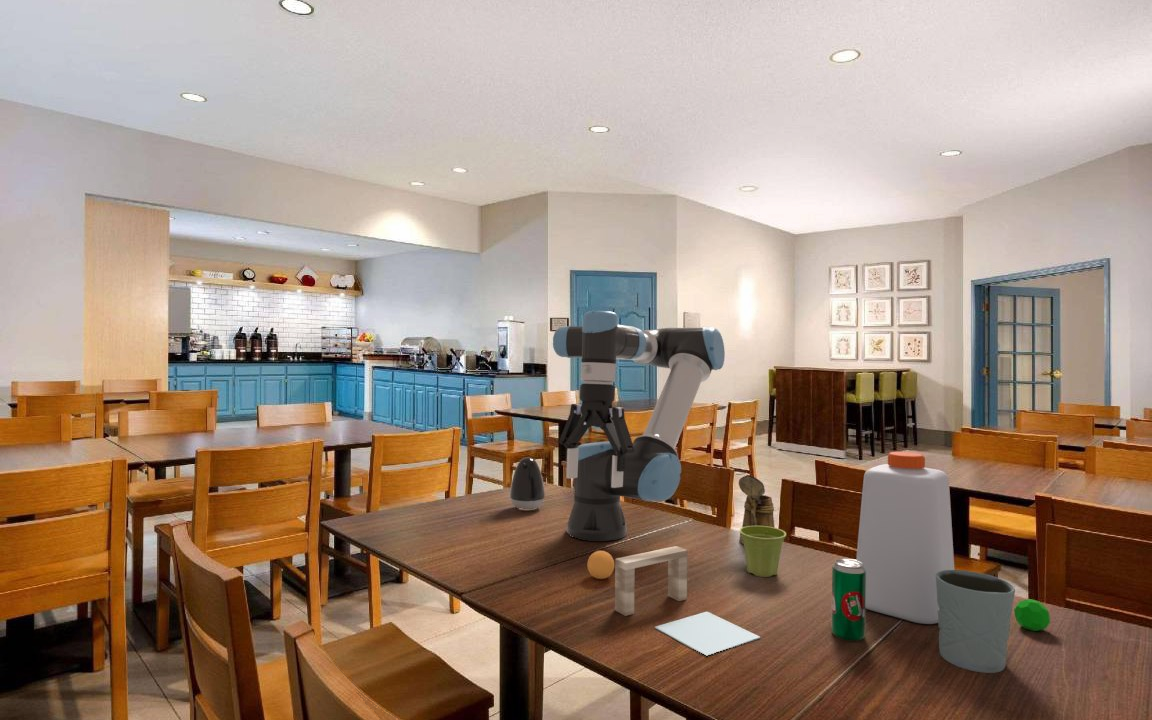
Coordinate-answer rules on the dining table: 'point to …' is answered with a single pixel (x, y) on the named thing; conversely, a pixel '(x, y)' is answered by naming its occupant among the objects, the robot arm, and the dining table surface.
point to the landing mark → (707, 633)
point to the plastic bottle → (905, 537)
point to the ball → (600, 564)
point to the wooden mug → (756, 504)
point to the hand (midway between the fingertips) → (593, 482)
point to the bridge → (629, 563)
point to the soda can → (848, 599)
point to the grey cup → (974, 619)
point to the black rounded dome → (527, 485)
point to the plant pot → (762, 549)
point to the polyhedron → (1032, 615)
